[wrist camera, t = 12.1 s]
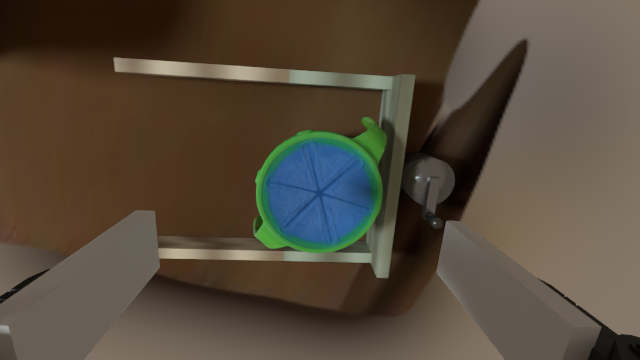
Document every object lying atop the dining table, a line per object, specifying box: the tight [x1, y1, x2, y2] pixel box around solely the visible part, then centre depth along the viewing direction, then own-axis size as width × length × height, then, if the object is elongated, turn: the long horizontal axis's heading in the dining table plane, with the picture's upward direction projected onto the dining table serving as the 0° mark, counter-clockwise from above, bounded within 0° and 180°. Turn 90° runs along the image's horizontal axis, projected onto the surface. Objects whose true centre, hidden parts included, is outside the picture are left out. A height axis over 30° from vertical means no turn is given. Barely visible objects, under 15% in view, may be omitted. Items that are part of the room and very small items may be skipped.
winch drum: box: [400, 152, 455, 229], centre depth 31 cm, size 5×6×7 cm
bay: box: [114, 58, 415, 278], centre depth 30 cm, size 27×20×6 cm
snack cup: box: [253, 117, 387, 253], centre depth 29 cm, size 16×10×10 cm
